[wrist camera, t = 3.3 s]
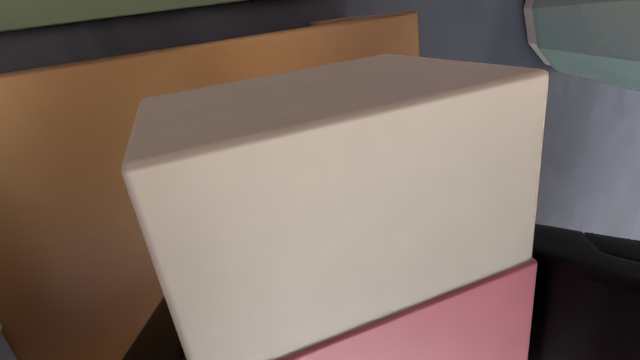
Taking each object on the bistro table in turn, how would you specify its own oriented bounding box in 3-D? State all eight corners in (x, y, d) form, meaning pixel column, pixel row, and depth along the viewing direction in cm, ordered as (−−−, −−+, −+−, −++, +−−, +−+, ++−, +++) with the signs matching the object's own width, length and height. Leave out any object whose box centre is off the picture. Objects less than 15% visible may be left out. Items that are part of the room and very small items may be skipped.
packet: (389, 52, 8) (560, 68, 5) (406, 338, 12) (517, 476, 8) (135, 98, 7) (109, 169, 3) (232, 410, 10) (271, 618, 7)
